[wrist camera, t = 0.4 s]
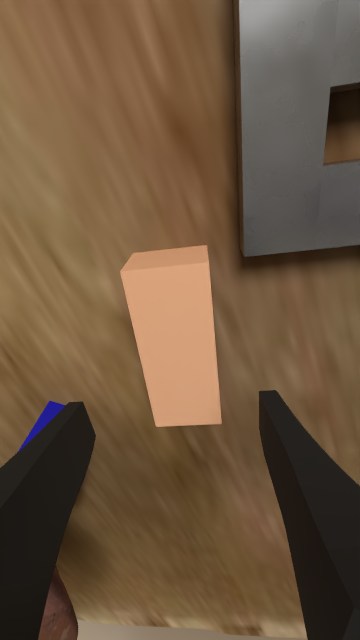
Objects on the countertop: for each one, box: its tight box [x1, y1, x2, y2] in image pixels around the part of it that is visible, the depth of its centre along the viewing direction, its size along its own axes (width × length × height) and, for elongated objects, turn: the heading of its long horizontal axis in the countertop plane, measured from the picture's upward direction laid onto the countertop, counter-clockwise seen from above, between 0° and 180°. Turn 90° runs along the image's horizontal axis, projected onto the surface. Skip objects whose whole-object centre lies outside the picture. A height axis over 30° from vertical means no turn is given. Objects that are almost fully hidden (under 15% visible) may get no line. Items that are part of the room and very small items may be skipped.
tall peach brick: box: [120, 245, 222, 427], centre depth 18 cm, size 4×10×6 cm, turn 7°
